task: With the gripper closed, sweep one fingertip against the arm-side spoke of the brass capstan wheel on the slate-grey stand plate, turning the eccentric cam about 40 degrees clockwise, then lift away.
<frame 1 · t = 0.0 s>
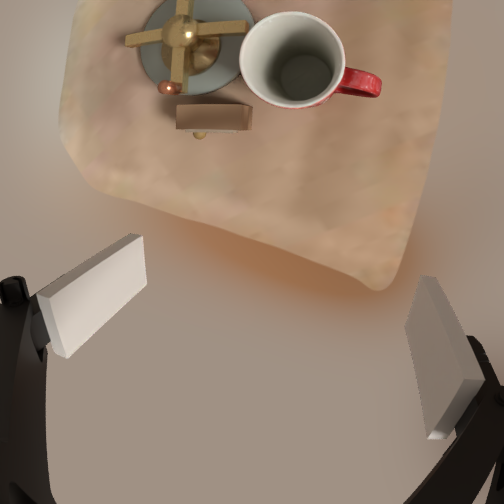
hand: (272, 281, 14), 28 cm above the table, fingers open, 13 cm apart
stand plate: (197, 40, 36), on the table
cam capstan: (181, 33, 32), point 5 cm above the table, hinge at 0.0°
mug: (319, 84, 35), on the table
brown angular block: (221, 117, 39), on the table
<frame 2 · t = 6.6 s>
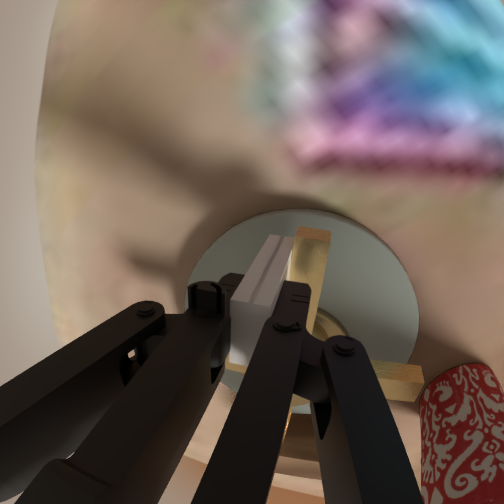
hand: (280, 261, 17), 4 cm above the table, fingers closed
stand plate: (300, 322, 22), on the table
cam capstan: (288, 370, 18), point 5 cm above the table, hinge at -2.8°, touching gripper
mug: (471, 396, 21), on the table
brown angular block: (328, 426, 25), on the table
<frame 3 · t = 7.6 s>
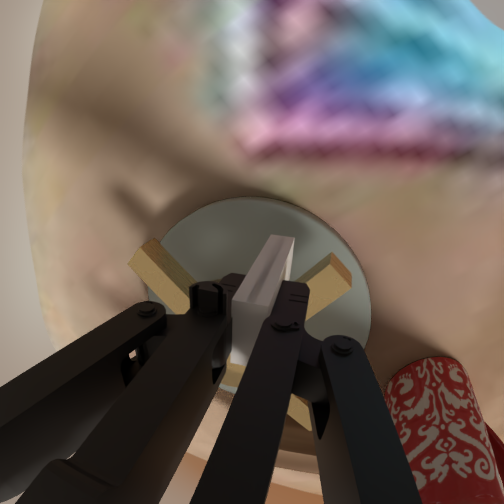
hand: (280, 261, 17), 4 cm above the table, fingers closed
stand plate: (256, 308, 23), on the table
cam capstan: (232, 350, 19), point 5 cm above the table, hinge at -41.6°, touching gripper
mug: (441, 392, 22), on the table
brown angular block: (294, 415, 26), on the table
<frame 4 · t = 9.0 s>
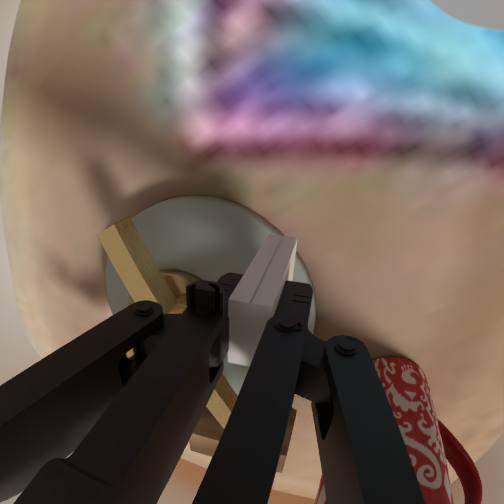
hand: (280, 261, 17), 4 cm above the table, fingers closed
stand plate: (205, 303, 24), on the table
cam capstan: (174, 342, 19), point 5 cm above the table, hinge at -60.2°, touching gripper
mug: (399, 393, 23), on the table
brown angular block: (251, 412, 27), on the table
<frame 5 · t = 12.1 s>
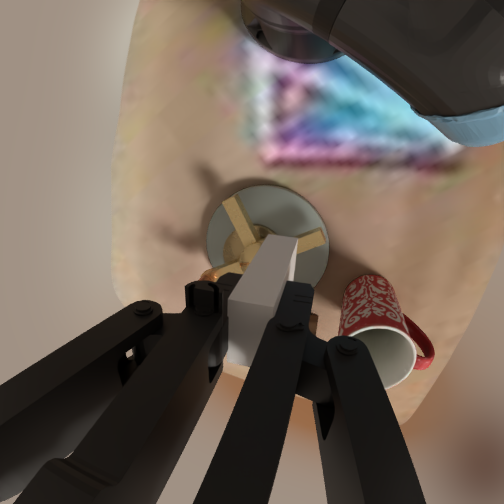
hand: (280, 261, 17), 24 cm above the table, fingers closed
stand plate: (267, 245, 43), on the table
cam capstan: (258, 260, 39), point 5 cm above the table, hinge at -60.2°
mug: (379, 301, 42), on the table
brown angular block: (289, 320, 46), on the table
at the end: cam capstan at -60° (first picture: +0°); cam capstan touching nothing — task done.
